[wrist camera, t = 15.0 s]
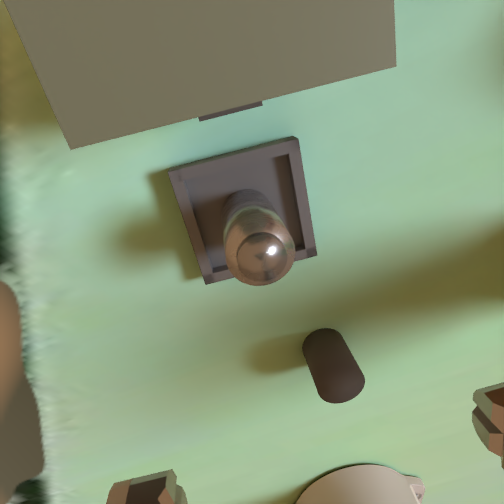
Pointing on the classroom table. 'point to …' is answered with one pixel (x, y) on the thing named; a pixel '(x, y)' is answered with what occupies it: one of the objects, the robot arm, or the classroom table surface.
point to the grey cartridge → (255, 239)
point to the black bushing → (332, 366)
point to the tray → (235, 179)
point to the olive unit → (191, 56)
